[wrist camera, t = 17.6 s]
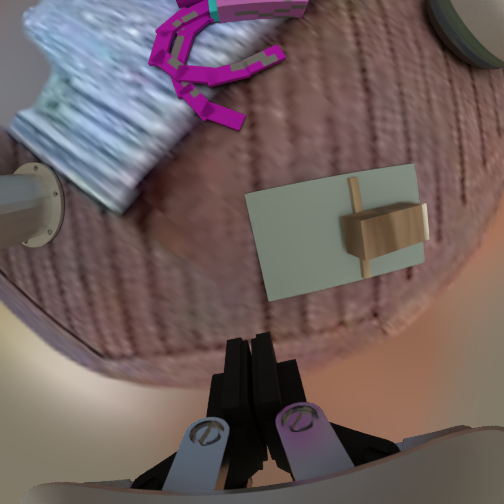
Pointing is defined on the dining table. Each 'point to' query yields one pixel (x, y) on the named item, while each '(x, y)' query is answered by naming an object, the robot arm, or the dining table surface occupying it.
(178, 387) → the dining table surface
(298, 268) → the mat
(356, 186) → the strip
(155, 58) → the toy
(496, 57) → the vase
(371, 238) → the walnut block
